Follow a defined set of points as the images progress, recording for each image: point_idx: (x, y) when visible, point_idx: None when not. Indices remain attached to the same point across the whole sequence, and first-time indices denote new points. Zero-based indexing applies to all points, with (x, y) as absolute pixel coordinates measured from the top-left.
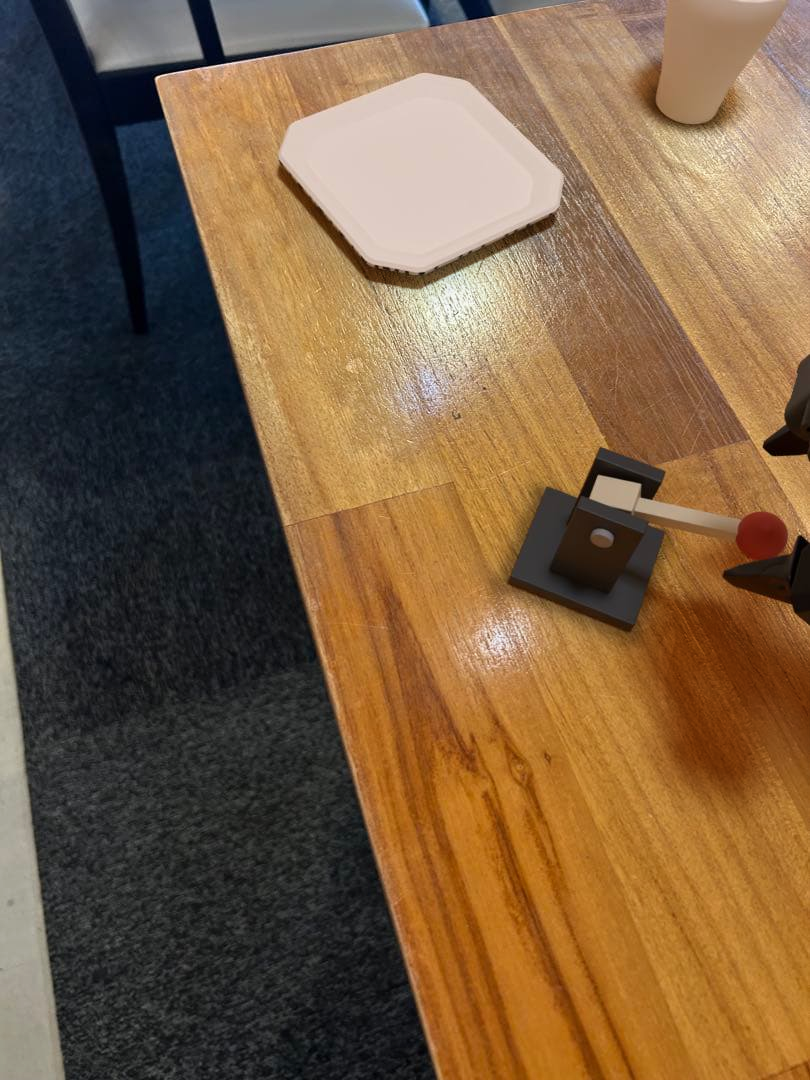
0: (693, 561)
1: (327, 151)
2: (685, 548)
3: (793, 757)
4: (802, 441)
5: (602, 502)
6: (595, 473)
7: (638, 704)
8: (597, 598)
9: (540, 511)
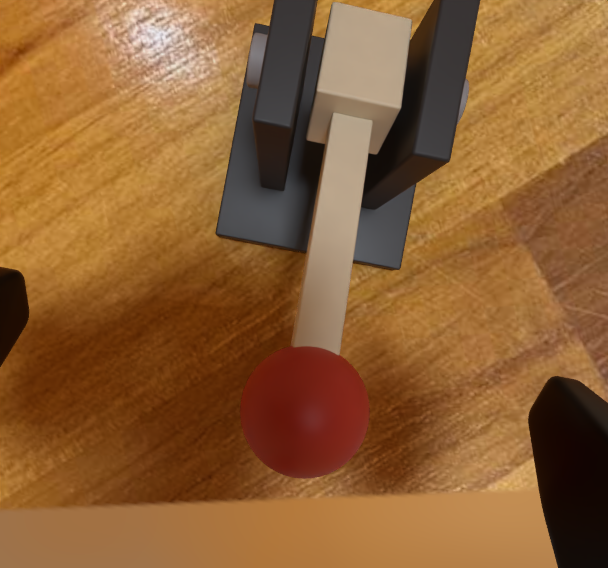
0: (366, 325)
1: None
2: (386, 311)
3: (75, 495)
4: (600, 530)
5: (333, 28)
6: (422, 27)
7: (103, 260)
8: (249, 169)
9: None
